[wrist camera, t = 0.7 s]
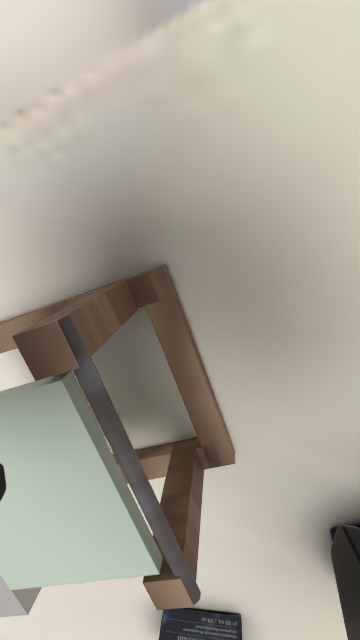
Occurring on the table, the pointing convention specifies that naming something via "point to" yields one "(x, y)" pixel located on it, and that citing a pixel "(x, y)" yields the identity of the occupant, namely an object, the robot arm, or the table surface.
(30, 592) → the grey rectangular block
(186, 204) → the table surface
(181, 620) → the box
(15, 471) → the trapdoor
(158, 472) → the frame
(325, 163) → the table surface
